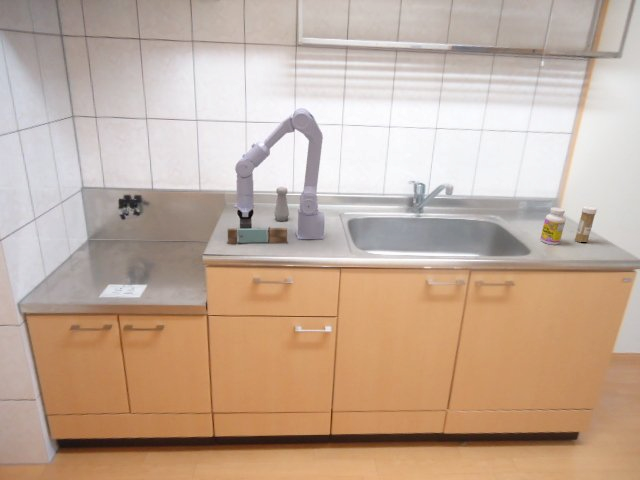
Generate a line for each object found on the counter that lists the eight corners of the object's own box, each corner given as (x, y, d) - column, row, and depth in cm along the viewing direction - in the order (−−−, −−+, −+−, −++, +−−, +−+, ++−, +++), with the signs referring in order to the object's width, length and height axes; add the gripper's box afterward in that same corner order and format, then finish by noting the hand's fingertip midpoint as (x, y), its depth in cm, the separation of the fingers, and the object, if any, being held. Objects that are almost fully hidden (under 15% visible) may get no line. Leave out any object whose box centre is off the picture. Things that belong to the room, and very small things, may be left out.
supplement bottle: (535, 239, 170) (543, 207, 166) (549, 238, 173) (557, 205, 168) (549, 246, 165) (558, 212, 160) (563, 244, 167) (572, 211, 162)
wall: (286, 241, 158) (286, 226, 156) (287, 243, 156) (287, 228, 154) (228, 242, 154) (227, 227, 152) (228, 244, 153) (227, 229, 151)
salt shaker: (290, 217, 181) (290, 186, 176) (287, 222, 176) (288, 190, 171) (275, 216, 182) (276, 185, 177) (272, 221, 176) (273, 189, 172)
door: (266, 241, 156) (266, 228, 154) (266, 243, 154) (266, 230, 153) (238, 241, 155) (238, 228, 153) (238, 243, 153) (238, 230, 151)
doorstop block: (251, 233, 162) (251, 218, 159) (251, 239, 158) (251, 223, 156) (240, 233, 161) (239, 218, 158) (240, 239, 158) (239, 223, 155)
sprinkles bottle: (587, 244, 168) (597, 210, 163) (573, 241, 170) (583, 207, 165) (587, 240, 172) (597, 207, 167) (574, 238, 174) (583, 204, 169)
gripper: (234, 187, 163) (234, 223, 168) (232, 199, 150) (233, 237, 155) (253, 187, 164) (253, 222, 169) (254, 199, 151) (254, 237, 156)
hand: (245, 229), depth 162 cm, fingers closed
